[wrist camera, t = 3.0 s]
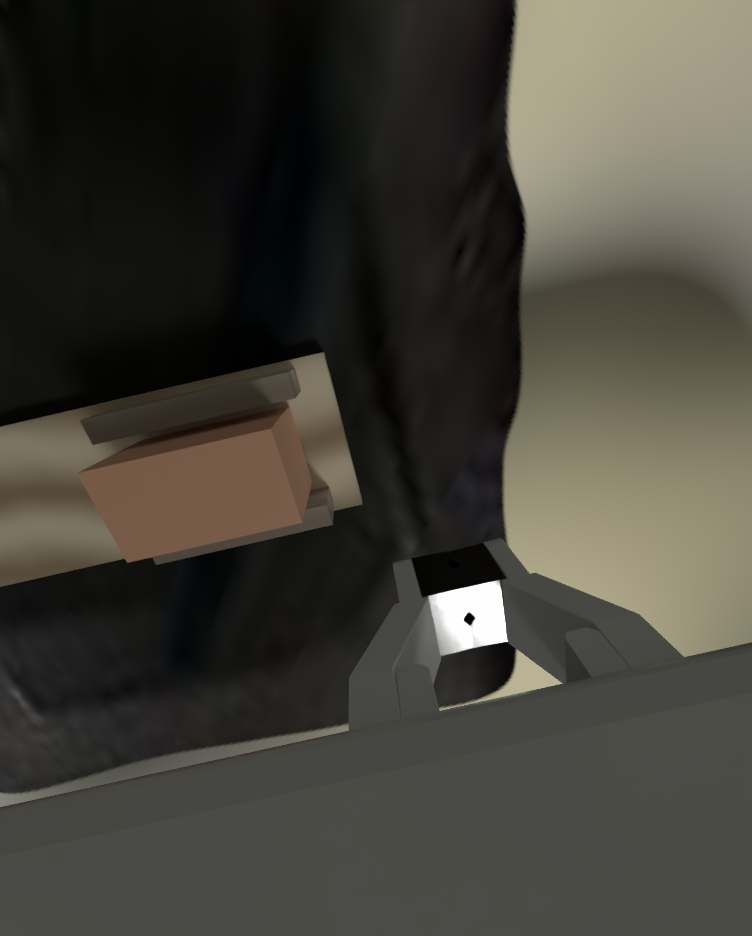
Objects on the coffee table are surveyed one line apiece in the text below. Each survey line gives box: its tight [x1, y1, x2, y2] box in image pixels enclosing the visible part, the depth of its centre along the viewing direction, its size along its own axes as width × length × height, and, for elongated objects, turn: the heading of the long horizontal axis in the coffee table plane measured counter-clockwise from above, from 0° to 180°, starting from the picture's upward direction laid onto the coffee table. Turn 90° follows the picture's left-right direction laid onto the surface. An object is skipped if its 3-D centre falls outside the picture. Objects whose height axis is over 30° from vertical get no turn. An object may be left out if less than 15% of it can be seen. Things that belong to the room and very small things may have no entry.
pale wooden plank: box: [0, 352, 362, 587], centre depth 24 cm, size 11×32×4 cm, turn 102°
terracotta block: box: [77, 406, 312, 563], centre depth 22 cm, size 6×10×6 cm, turn 102°
